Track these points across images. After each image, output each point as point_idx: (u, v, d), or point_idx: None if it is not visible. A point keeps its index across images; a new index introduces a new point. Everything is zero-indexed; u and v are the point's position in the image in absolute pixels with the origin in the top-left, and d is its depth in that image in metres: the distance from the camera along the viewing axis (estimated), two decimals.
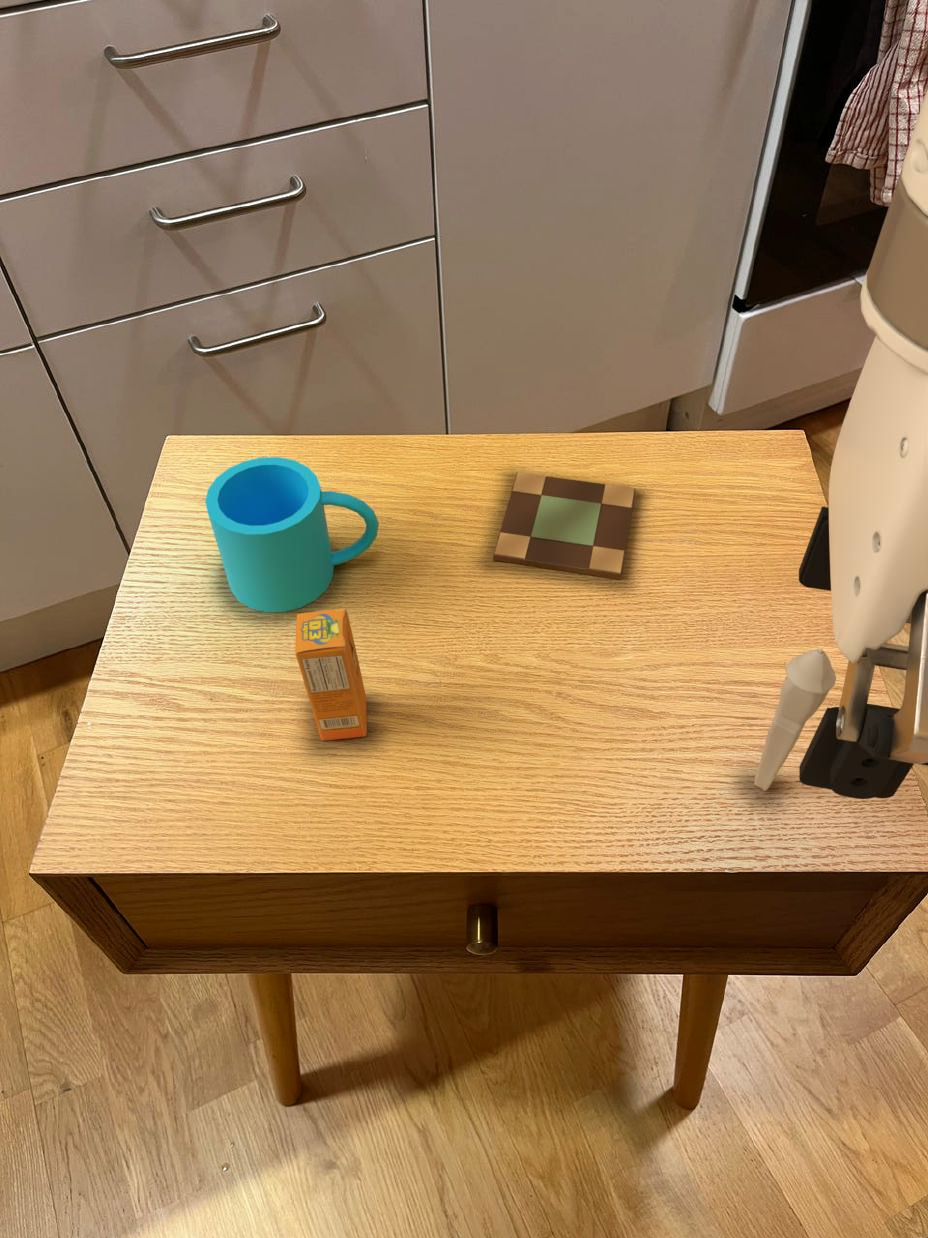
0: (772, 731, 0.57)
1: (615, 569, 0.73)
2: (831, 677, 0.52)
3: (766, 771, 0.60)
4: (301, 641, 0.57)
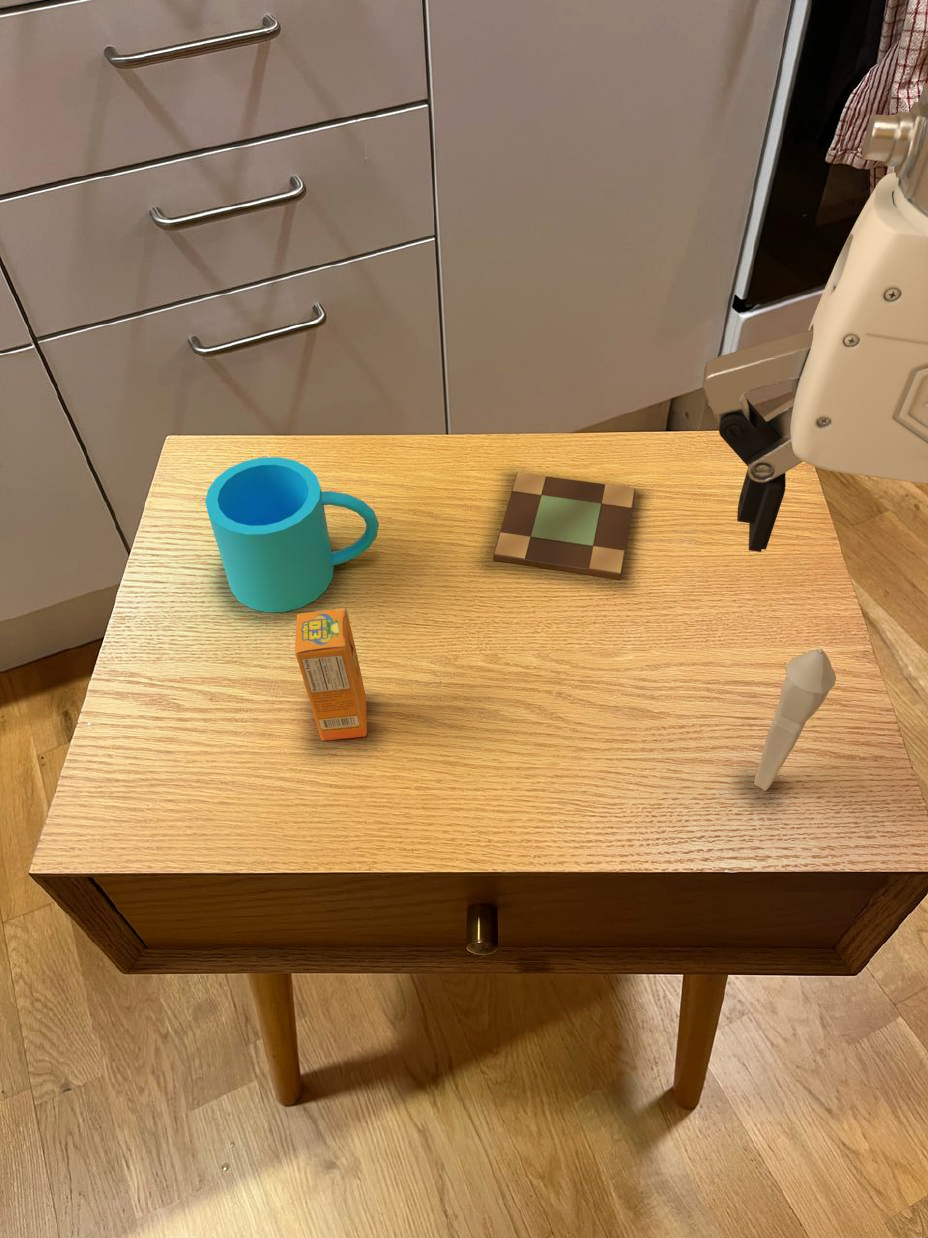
0: (772, 731, 0.57)
1: (615, 569, 0.73)
2: (831, 677, 0.52)
3: (766, 771, 0.60)
4: (301, 641, 0.57)
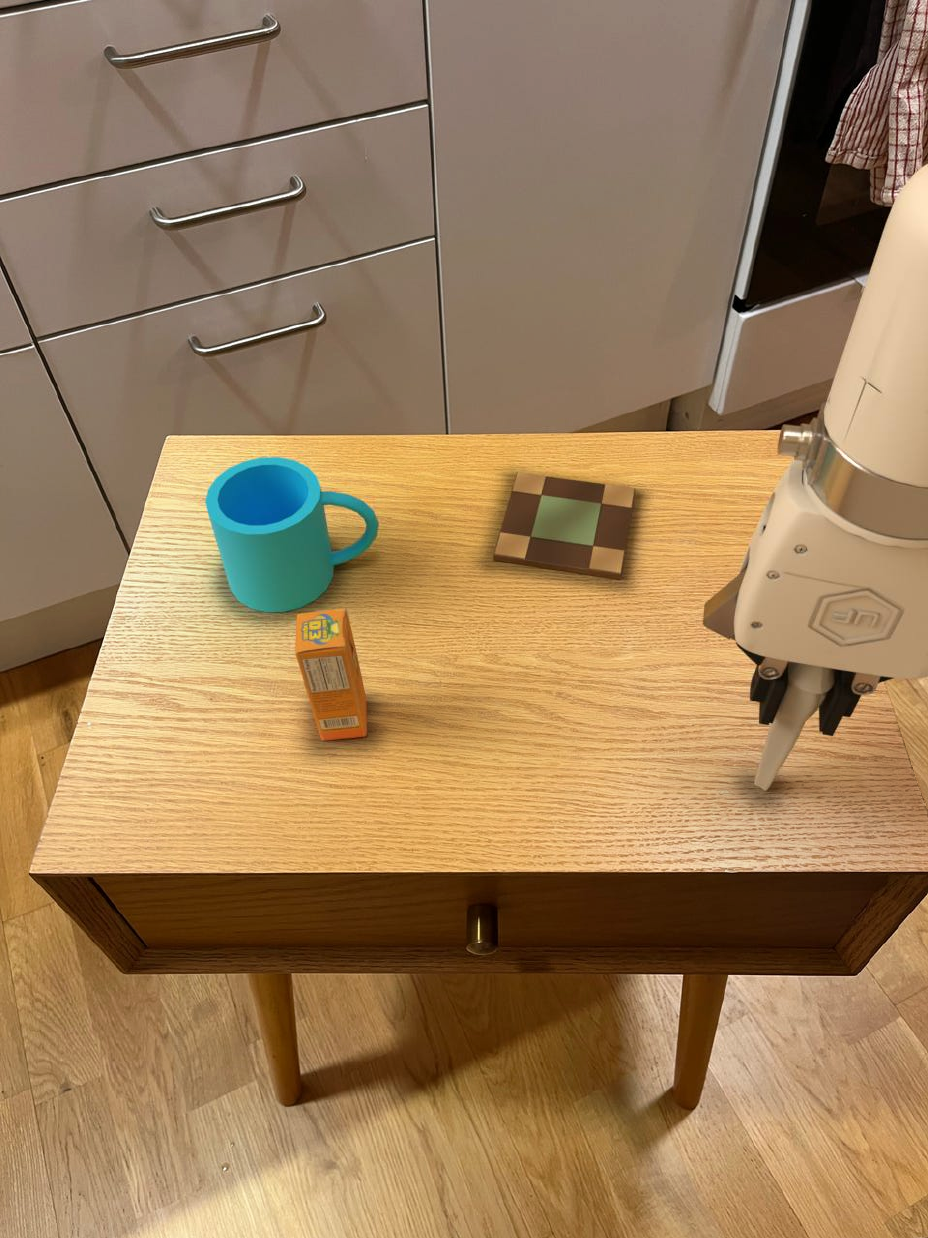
0: (772, 731, 0.57)
1: (615, 569, 0.73)
2: (830, 677, 0.52)
3: (766, 771, 0.60)
4: (301, 641, 0.57)
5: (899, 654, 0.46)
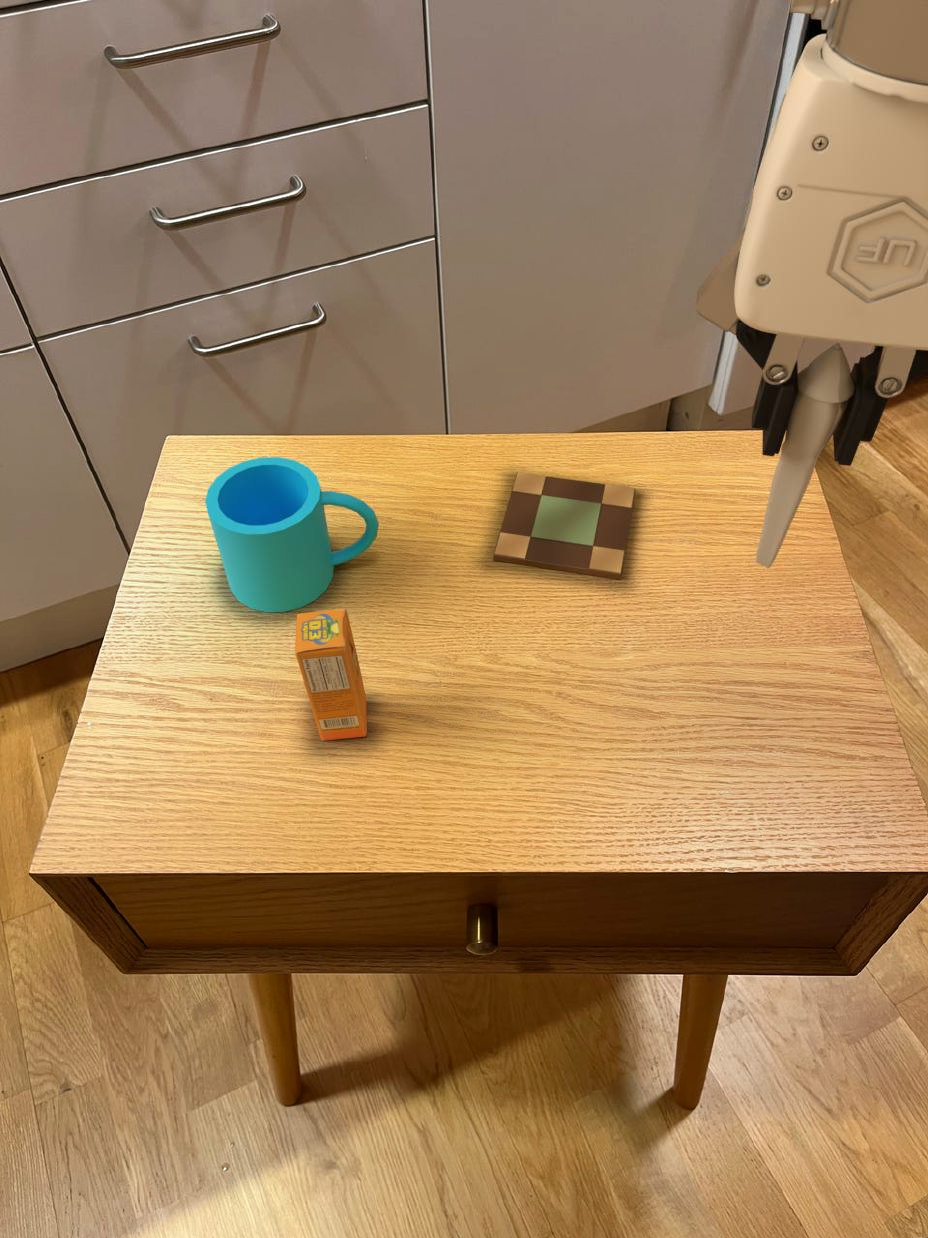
0: (778, 475, 0.48)
1: (615, 569, 0.73)
2: (850, 383, 0.43)
3: (770, 538, 0.51)
4: (301, 641, 0.57)
5: None
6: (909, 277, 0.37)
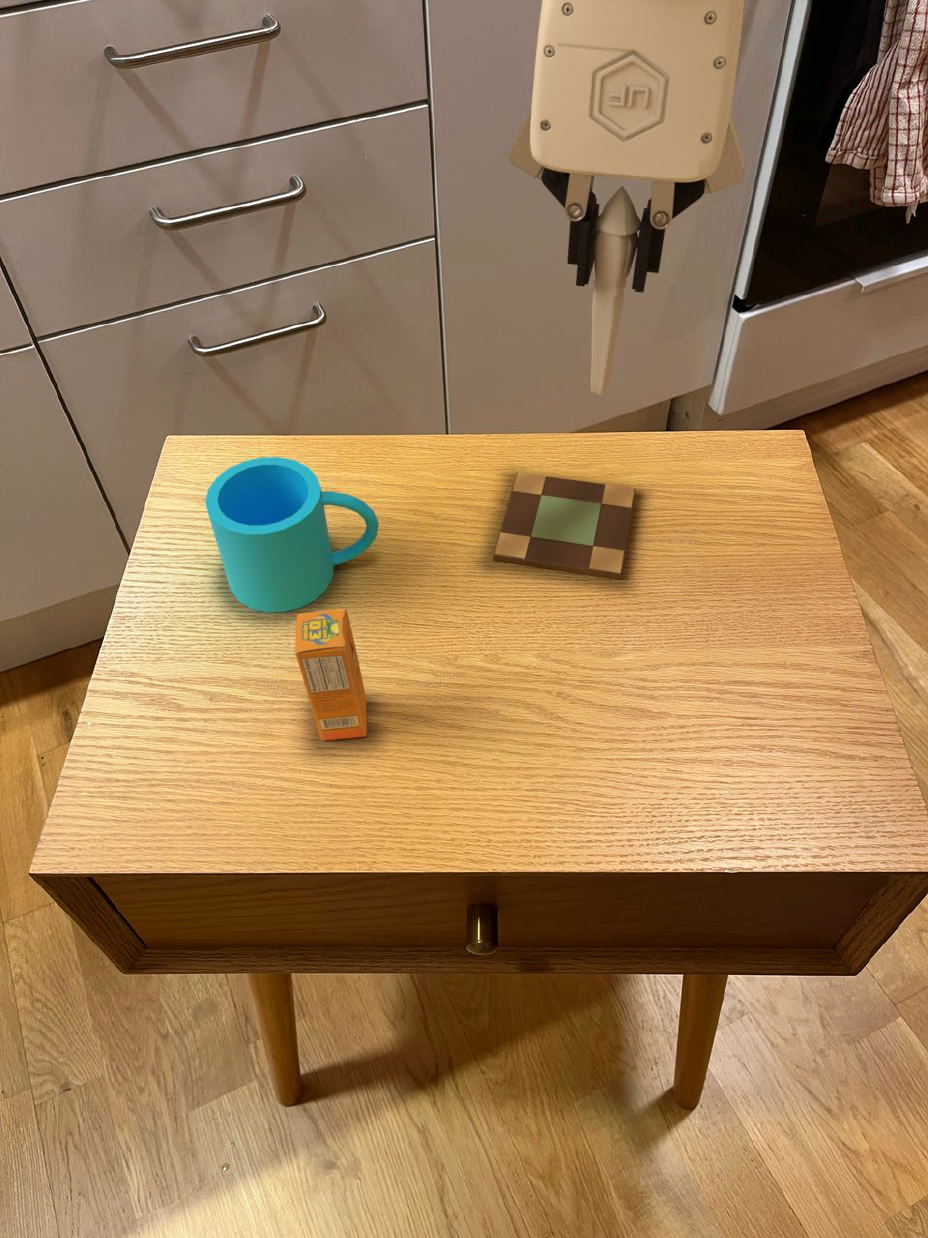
0: (594, 307, 0.59)
1: (615, 569, 0.73)
2: (635, 220, 0.55)
3: (597, 366, 0.63)
4: (301, 641, 0.57)
5: (676, 143, 0.49)
6: (650, 118, 0.48)
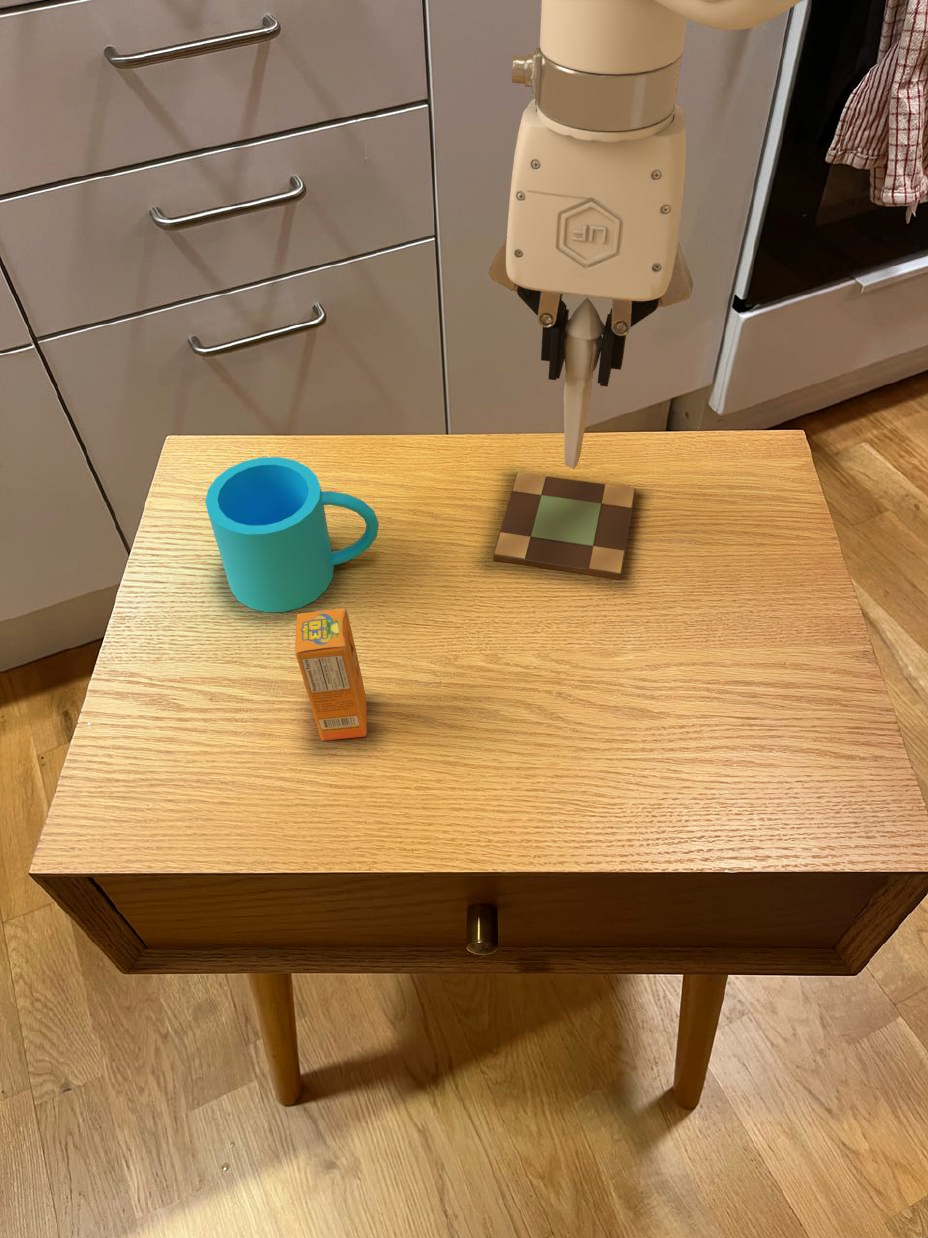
0: (565, 395, 0.67)
1: (615, 569, 0.73)
2: (599, 326, 0.63)
3: (570, 444, 0.71)
4: (301, 641, 0.57)
5: (630, 271, 0.57)
6: (607, 250, 0.56)
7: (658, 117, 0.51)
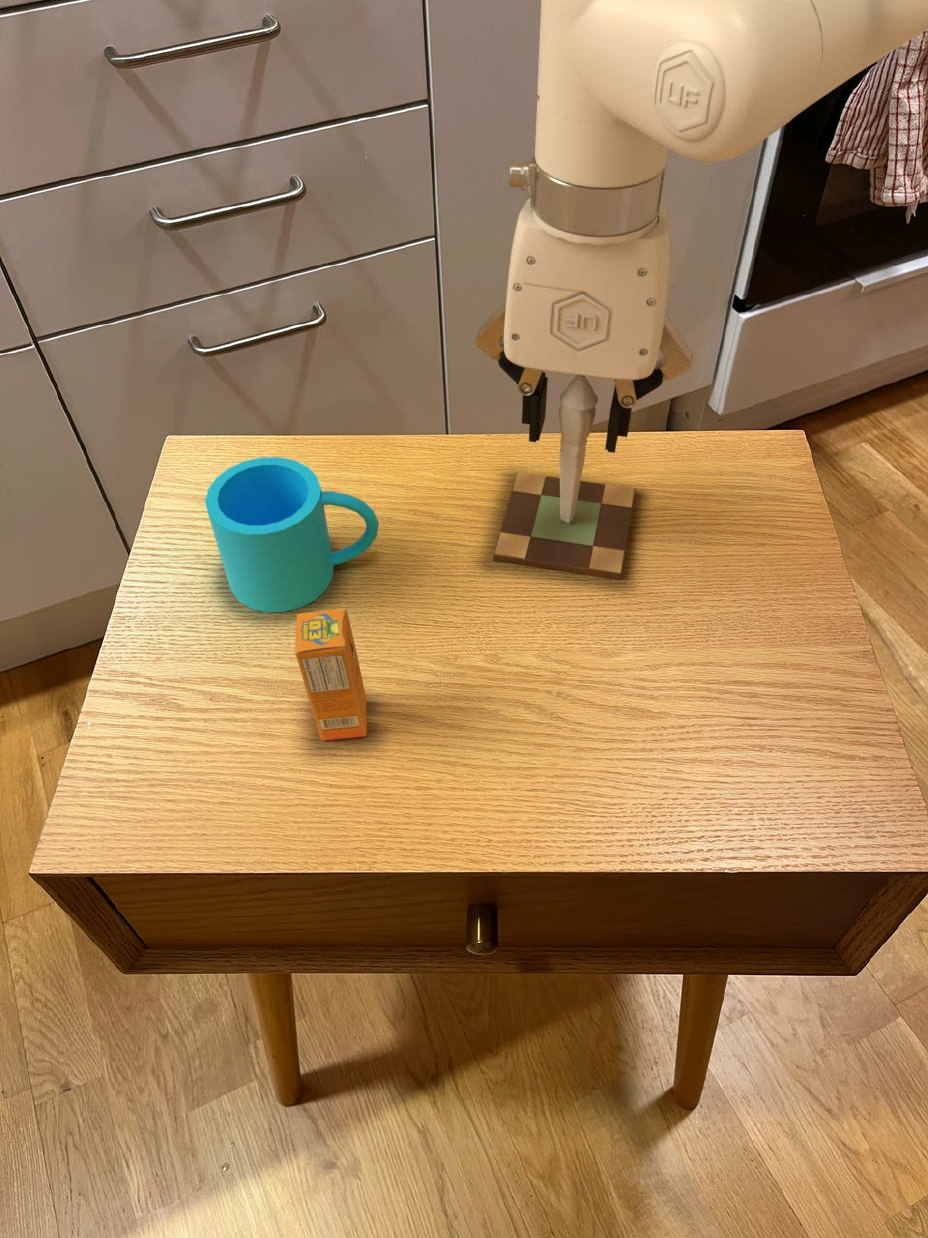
0: (561, 458, 0.72)
1: (615, 569, 0.73)
2: (592, 398, 0.67)
3: (565, 502, 0.75)
4: (301, 641, 0.57)
5: (619, 354, 0.61)
6: (598, 336, 0.61)
7: (643, 222, 0.55)
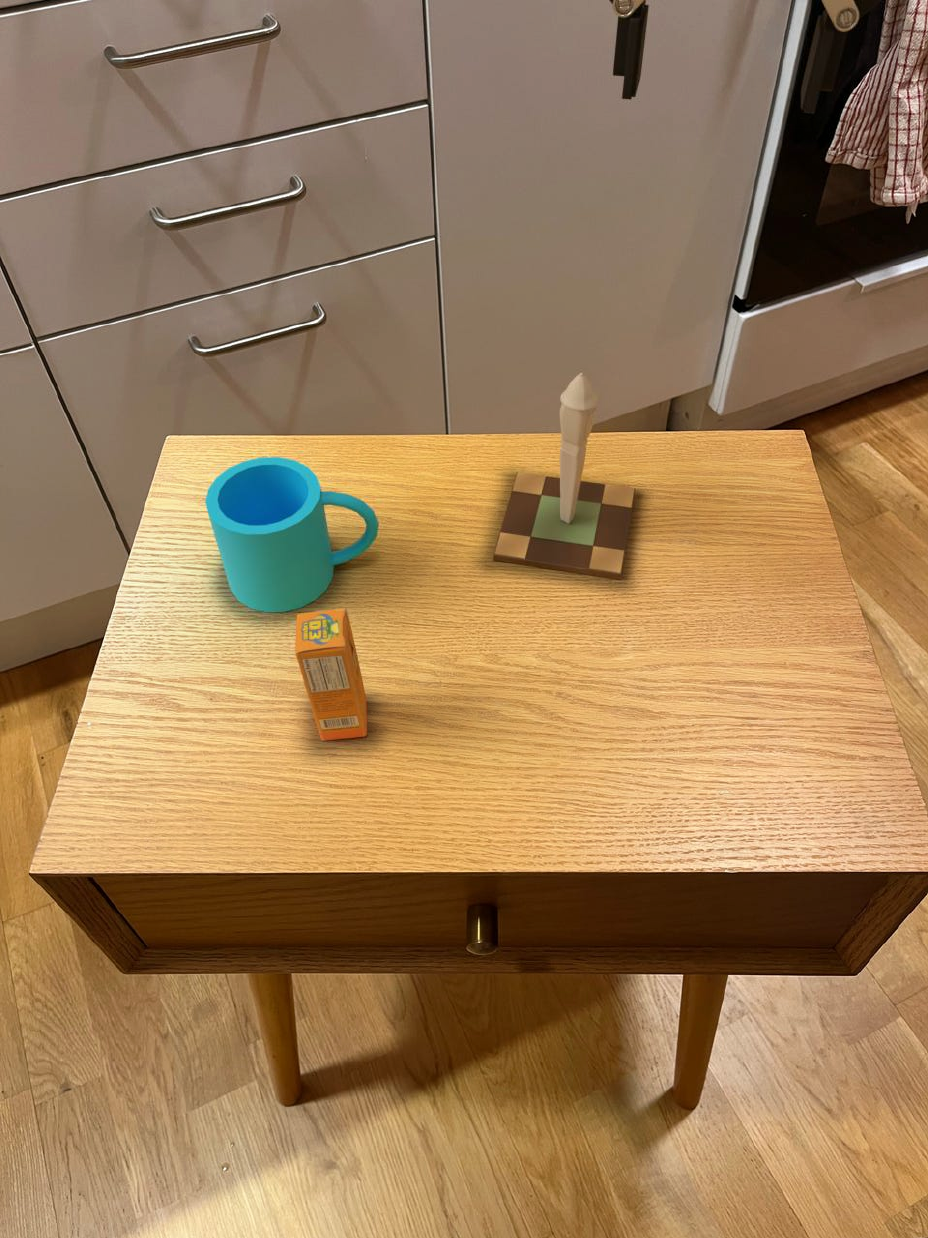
0: (561, 458, 0.72)
1: (615, 569, 0.73)
2: (593, 398, 0.67)
3: (565, 502, 0.75)
4: (301, 641, 0.57)
5: None
6: None
7: None
